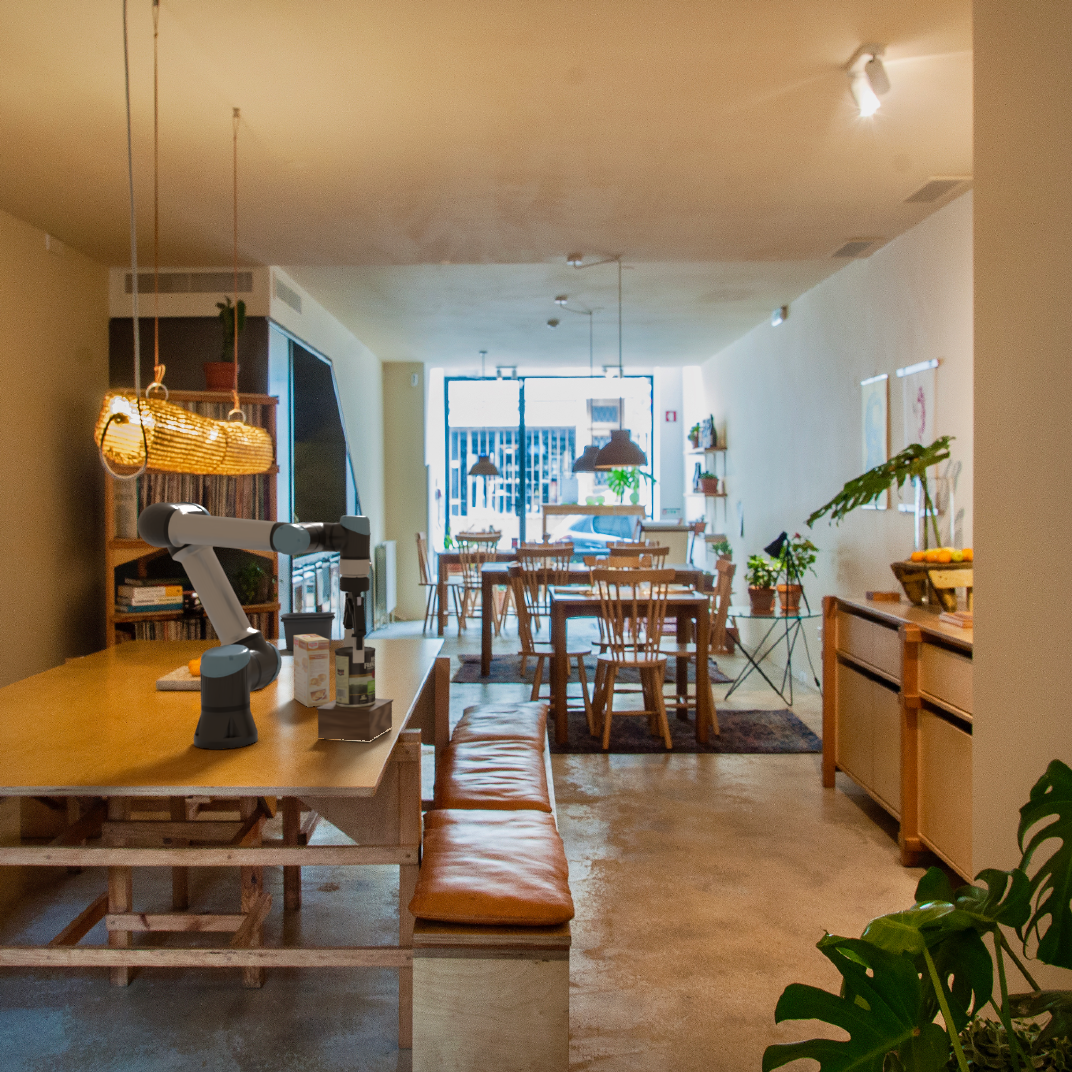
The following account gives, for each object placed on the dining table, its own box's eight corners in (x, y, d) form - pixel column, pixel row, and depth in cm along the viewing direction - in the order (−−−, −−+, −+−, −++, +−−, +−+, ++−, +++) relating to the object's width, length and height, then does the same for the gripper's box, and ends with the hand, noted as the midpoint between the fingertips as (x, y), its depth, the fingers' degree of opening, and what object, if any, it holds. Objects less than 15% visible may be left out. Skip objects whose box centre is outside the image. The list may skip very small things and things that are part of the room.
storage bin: (278, 651, 370) (278, 616, 370) (285, 645, 386) (285, 611, 385) (332, 651, 372) (332, 615, 372) (337, 645, 388) (337, 611, 387)
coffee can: (381, 700, 242) (381, 646, 242) (366, 708, 232) (366, 652, 232) (345, 698, 244) (344, 645, 244) (328, 706, 234) (327, 651, 234)
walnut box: (370, 743, 229) (369, 711, 229) (316, 739, 233) (316, 708, 233) (393, 729, 244) (393, 699, 243) (342, 726, 247) (342, 696, 247)
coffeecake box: (330, 705, 273) (330, 639, 272) (306, 707, 269) (306, 641, 269) (316, 696, 286) (315, 633, 285) (293, 698, 282) (292, 634, 282)
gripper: (378, 579, 227) (377, 665, 227) (360, 571, 250) (359, 649, 251) (347, 580, 224) (347, 667, 225) (332, 572, 247) (331, 651, 248)
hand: (353, 658), depth 238 cm, fingers open, 13 cm apart
